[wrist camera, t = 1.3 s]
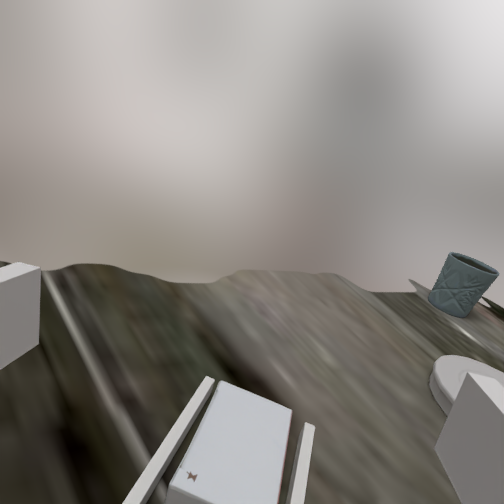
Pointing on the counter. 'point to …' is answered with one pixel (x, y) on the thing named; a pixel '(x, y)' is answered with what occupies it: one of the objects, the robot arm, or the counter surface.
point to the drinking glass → (461, 284)
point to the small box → (234, 452)
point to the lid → (456, 377)
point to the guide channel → (175, 437)
